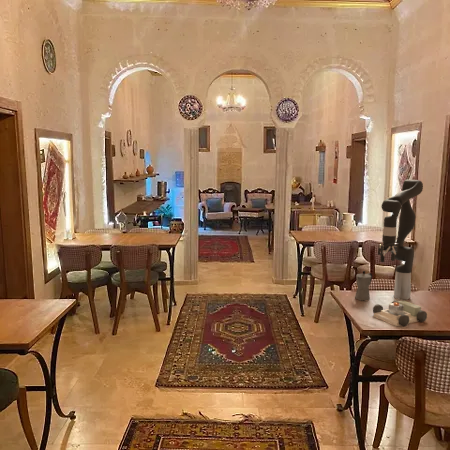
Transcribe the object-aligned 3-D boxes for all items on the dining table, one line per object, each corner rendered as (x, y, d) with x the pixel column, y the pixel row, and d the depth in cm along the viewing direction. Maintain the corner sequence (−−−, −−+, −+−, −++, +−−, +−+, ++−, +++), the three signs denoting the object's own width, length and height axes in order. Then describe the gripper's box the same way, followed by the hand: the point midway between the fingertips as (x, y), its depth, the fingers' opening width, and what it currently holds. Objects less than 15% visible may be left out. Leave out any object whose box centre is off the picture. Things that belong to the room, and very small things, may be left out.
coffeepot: (362, 302, 273) (364, 274, 270) (349, 298, 281) (351, 271, 278) (376, 297, 283) (378, 270, 280) (364, 294, 290) (365, 267, 287)
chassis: (398, 309, 261) (399, 298, 260) (427, 320, 244) (428, 308, 243) (371, 315, 251) (371, 303, 250) (399, 327, 233) (400, 314, 232)
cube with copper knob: (395, 312, 249) (395, 300, 248) (403, 315, 245) (404, 303, 244) (388, 314, 247) (389, 302, 246) (396, 317, 242) (397, 305, 241)
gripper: (392, 232, 265) (391, 258, 268) (375, 234, 259) (373, 261, 261) (403, 234, 259) (401, 261, 261) (385, 236, 252) (383, 264, 254)
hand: (387, 261), depth 261 cm, fingers open, 8 cm apart
